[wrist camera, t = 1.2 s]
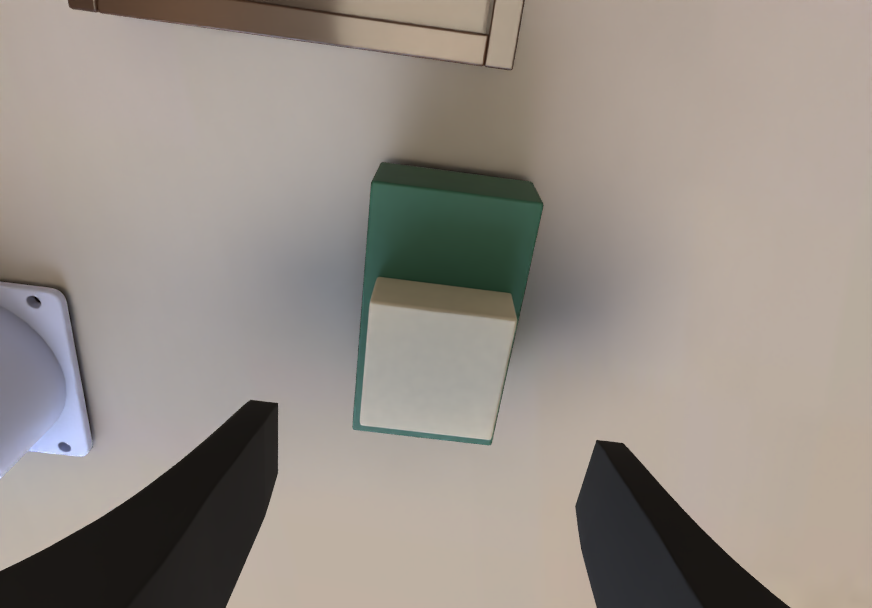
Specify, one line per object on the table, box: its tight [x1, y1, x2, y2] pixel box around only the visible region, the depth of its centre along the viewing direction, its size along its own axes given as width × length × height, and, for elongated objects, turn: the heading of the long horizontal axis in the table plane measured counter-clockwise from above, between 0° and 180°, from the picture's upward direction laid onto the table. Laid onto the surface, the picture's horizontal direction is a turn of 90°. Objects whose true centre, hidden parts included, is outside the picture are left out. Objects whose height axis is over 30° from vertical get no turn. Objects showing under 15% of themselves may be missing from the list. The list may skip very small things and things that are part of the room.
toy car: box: [352, 162, 543, 445], centre depth 19 cm, size 9×5×5 cm, turn 173°
